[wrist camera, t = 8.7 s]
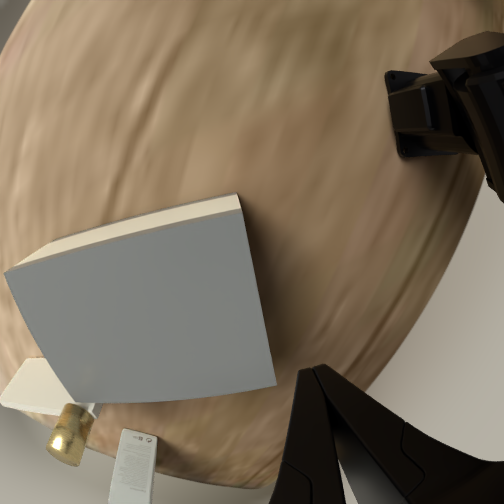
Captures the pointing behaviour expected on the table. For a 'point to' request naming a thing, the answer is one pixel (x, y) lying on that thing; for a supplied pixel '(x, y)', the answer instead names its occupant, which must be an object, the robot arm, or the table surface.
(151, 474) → the skincare box
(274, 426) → the table surface
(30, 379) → the side door
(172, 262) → the case
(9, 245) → the table surface
